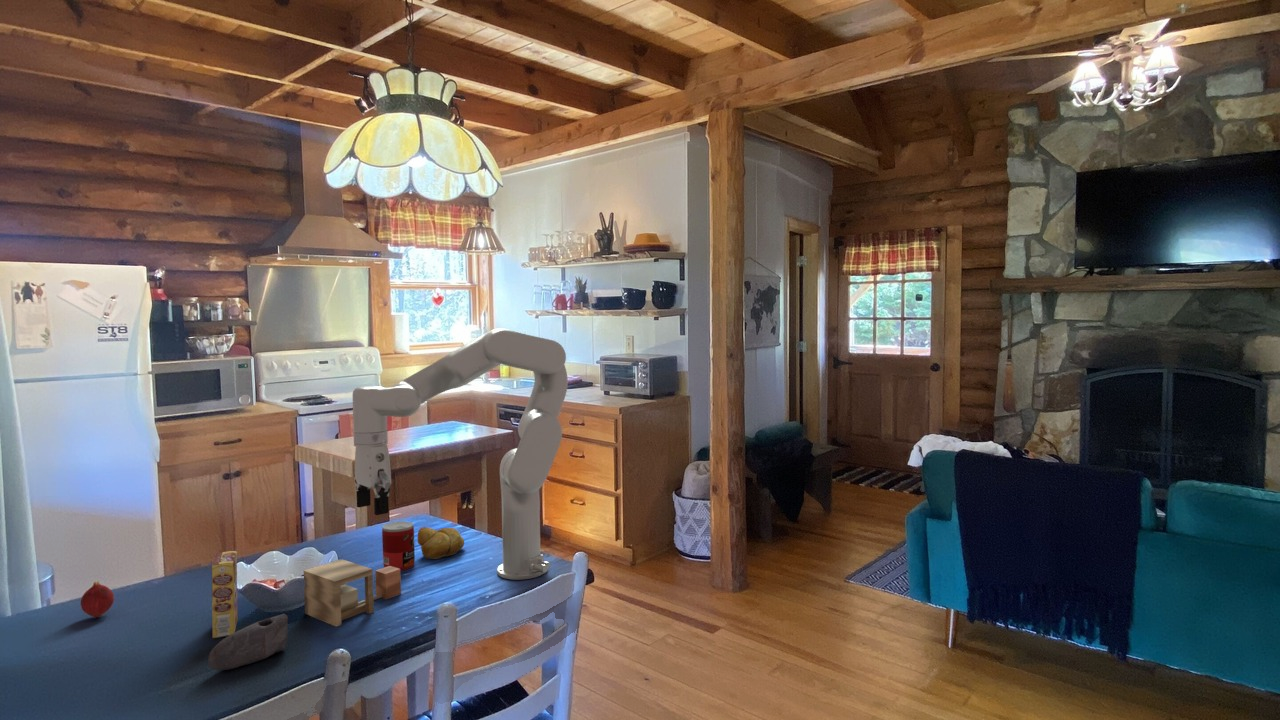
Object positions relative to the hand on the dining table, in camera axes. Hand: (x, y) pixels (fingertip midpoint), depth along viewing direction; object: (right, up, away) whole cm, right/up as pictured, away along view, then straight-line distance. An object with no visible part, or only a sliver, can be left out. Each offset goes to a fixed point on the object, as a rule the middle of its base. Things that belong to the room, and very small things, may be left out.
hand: (372, 510), depth 167 cm
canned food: (0, -19, +18) cm, 26 cm away
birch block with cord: (+1, -20, -6) cm, 21 cm away
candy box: (-23, -21, -19) cm, 37 cm away
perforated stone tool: (-10, -22, -33) cm, 41 cm away
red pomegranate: (-55, -21, -13) cm, 61 cm away
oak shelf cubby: (-3, -20, -12) cm, 24 cm away
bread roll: (+9, -18, +28) cm, 34 cm away
